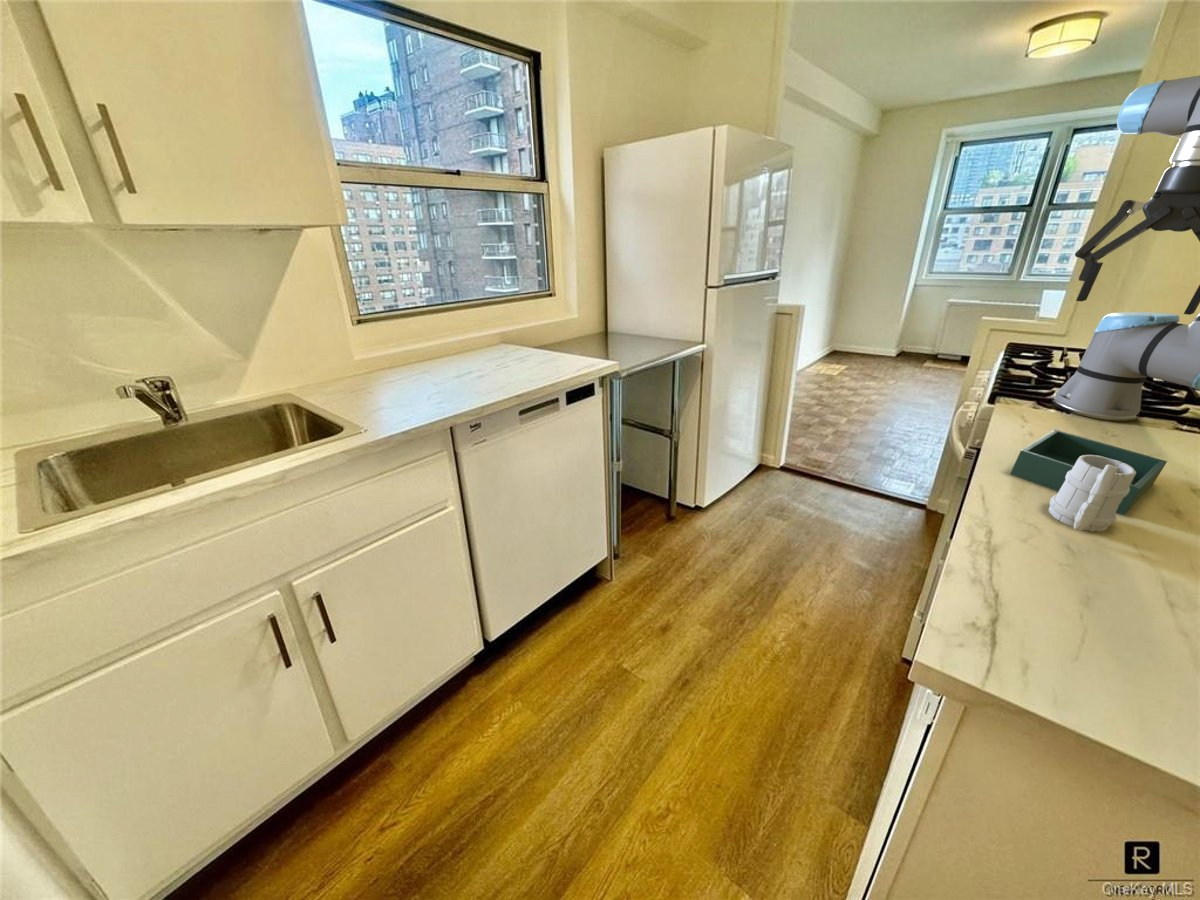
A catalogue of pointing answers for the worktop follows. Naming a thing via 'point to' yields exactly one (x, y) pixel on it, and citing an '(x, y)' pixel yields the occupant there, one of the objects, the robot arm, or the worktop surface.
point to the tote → (1062, 451)
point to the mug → (1092, 493)
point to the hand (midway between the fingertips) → (1131, 306)
